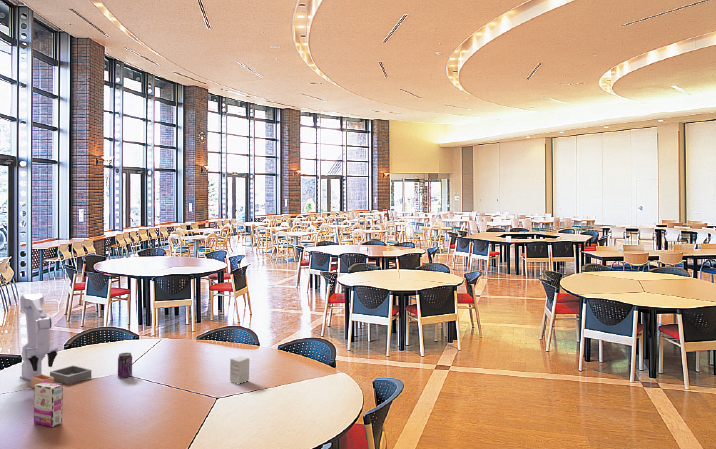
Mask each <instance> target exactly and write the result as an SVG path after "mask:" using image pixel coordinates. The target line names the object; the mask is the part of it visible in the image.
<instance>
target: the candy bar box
mask: <svg viewBox="0 0 716 449" xmlns="http://www.w3.org/2000/svg"><path fill="white" fill-rule="evenodd" d="M63 387H64V386H63V385H62V384H57V383H54V384H53V383H48V382H42V383H39V384H36V385H34V387H33V389H34V392H33V393H34V394H33V395H34V397H33V400H34V402H33V423H34V424H36V423H38V424H37V425H40V424H41V425H40V426H44V425H45V427H48V426H49V428H55V427H57V426H60V425H62V424H63V395H64V394H63V391H64V390H63V389H64V388H63ZM54 426H55V427H54Z"/></svg>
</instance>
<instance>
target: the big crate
mask: <svg viewBox="0 0 716 449" xmlns="http://www.w3.org/2000/svg"><path fill="white" fill-rule="evenodd" d="M49 376H51V377H54V382H59V383H62V384H66V385H70V384H74V383H77V382H80V381H83V380H87V379H90V378H92V369H90V368H85V367H82V366H77V365H69V366H65V367H63V368H59V369H54V370H51V371H49Z"/></svg>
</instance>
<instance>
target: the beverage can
mask: <svg viewBox="0 0 716 449" xmlns="http://www.w3.org/2000/svg"><path fill="white" fill-rule="evenodd" d="M132 375H133V355H132V353H131V352H121V353H118V357H117V377H119V378H123V379H124V378H129V377H130V376H132Z"/></svg>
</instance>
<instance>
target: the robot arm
mask: <svg viewBox="0 0 716 449" xmlns="http://www.w3.org/2000/svg"><path fill="white" fill-rule="evenodd" d="M44 298H45V297H44V294H43V293H41V292H40V293H32V294H31V293H30V294H22V295H20V300H19V301H20V303H19V304H20V309H21V311H22V312H24V313H25V320H26V332H27V333H26V334H27V343H25V345H23V346H22V348H21V350H22V351H21V358H22V361H23V362H22V364H21V376H19V378H20V379H24V380H27V381H31V377H33V376H37V375H40V374H43V373H42V372H43V371H42V368H43V367H42V365H43V364H42V362H43V360H44V359H45V357H46V355H47V367H49V368H53V364H54V362H55V359H56V358H57V355H58V352H59V347H56V346H55V347H54V346H53V347H50V345H51V344H50V343H51V340H50V338H51V337H50V336H51V332H50V331H51V329H52V324H53V323H52V317H51V316H48V315H47V312H46V310H45V309H43V305H44V302H45V301H44Z"/></svg>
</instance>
